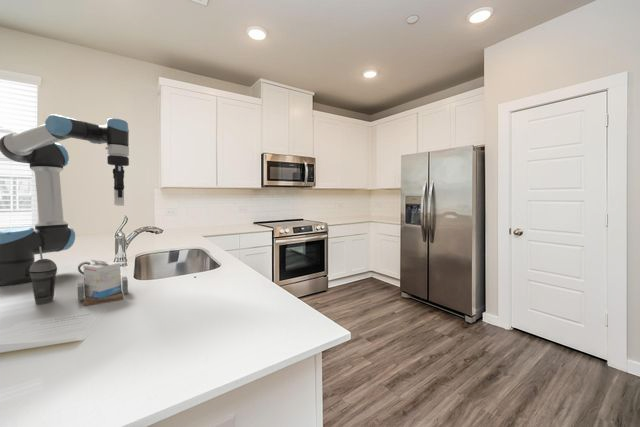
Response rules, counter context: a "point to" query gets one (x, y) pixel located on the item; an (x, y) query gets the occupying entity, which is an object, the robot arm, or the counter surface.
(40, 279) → the beverage cup
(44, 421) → the counter surface
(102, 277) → the ink box
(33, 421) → the counter surface
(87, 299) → the roll holder
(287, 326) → the counter surface
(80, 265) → the mug
